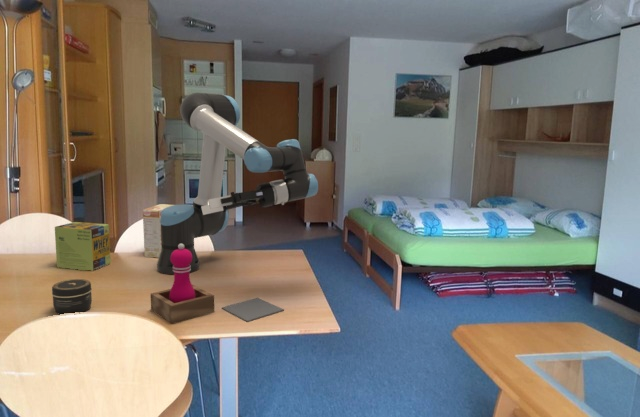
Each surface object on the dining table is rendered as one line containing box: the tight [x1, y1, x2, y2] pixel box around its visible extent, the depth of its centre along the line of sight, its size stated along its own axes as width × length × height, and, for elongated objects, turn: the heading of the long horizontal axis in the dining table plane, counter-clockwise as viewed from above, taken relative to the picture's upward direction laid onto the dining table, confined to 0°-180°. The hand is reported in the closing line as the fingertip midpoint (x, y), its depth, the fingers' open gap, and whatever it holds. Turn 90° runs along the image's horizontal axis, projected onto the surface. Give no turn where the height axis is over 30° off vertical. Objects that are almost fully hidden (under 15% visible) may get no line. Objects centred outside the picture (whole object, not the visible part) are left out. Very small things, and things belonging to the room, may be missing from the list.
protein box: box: [54, 221, 112, 272], centre depth 179 cm, size 10×15×16 cm
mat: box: [221, 297, 285, 323], centre depth 142 cm, size 13×13×1 cm
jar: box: [51, 278, 93, 315], centre depth 138 cm, size 10×10×8 cm
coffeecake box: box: [142, 203, 174, 259], centre depth 200 cm, size 15×7×20 cm, turn 171°
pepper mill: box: [169, 244, 195, 303], centre depth 138 cm, size 7×7×20 cm
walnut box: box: [150, 284, 215, 325], centre depth 139 cm, size 13×13×5 cm
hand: (205, 207), depth 145 cm, fingers open, 13 cm apart
